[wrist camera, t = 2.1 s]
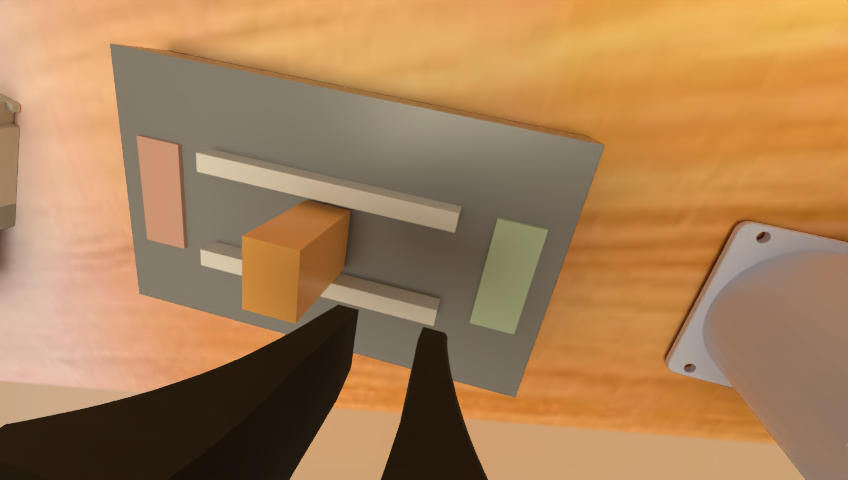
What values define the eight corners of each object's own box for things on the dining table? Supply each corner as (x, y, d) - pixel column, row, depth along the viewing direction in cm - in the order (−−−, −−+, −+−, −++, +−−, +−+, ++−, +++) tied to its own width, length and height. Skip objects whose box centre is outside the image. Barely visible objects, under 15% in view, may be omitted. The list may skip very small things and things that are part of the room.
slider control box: (587, 136, 17) (612, 149, 13) (513, 357, 21) (515, 413, 18) (167, 50, 19) (86, 40, 15) (182, 269, 23) (122, 303, 20)
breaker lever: (350, 210, 16) (300, 250, 12) (344, 268, 17) (295, 323, 13) (306, 199, 17) (241, 235, 12) (302, 258, 18) (241, 309, 14)
